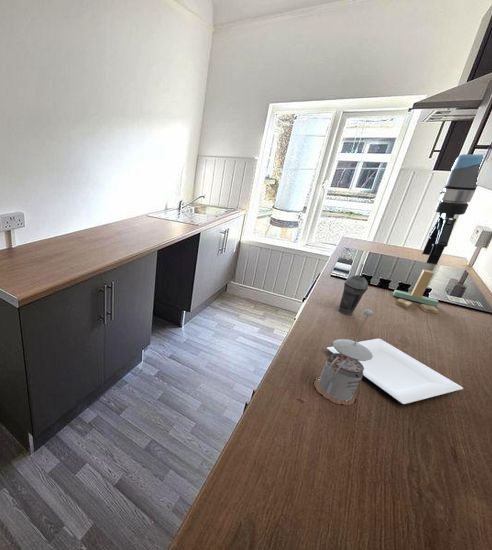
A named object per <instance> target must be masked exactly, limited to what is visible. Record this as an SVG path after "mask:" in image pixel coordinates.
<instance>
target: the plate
mask: <svg viewBox="0 0 492 550" xmlns="http://www.w3.org/2000/svg"><path fill="white" fill-rule="evenodd" d="M357 342H358V343H359V344H361V345H363V346H364V347H366V348H367V349H368V350H369V351H370V352H371V353H372V355H373V357H372V359H371V360H367V361H359V362H360V363H361V364H362V365H363V367H364V370H363V376H362V377H364V378H365V379H367V380H368V381H370V382H371V383H372V384H374V385H375V386H376V387H378V388H379V389H380V390H382V391H383V392H385V394H387V395H388V396H389V397H392V399H394V400H395V401H397V402H398V403H399V404H402V405H406V404H407V405H408V404H411V403H414V402H418V401H422V400H425V399H429V398H433V397H437V396H440V395H445V394H449V393H452V392H455V391H460V390H464V387H463V386H461V385H459V384H458V383H456V382H455V381H453V380H451V379H449V378H448V377H446V376H444V375H442V373H439V372H437V371H436V370H434V369H432V368H431V367H429V366H428V365H425V363H422V362H420V361H419V360H417V359H415V358H414V357H412V356H410V355H409V354H407V353H405V352H403V351H402V350H400V349H398V348H397V347H395V346H394V345H392V344H391V343H388V342H386V341H385V340H383V339H382V338H373V339H368V340H361V341H357ZM326 349H327V351H328V352H330V353H331V354H334V353H339V352H338V351H337V350H336V349H335V348H334V346H328V347H326Z"/></svg>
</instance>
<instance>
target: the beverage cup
mask: <svg viewBox="0 0 492 550" xmlns="http://www.w3.org/2000/svg"><path fill="white" fill-rule="evenodd" d="M363 267H364V263H361V265H360V268H359V272H358V274H354V275H352V276H351V275H350V276H349V277H347V279H346V280H345V282H344V283H343V291H342V296H341V299H340V303H339V307H338V311H339V313H341V314H343V315H347V316H351V315H353V313H354V312H355V311H356V308H357V306H358V304H359V303H360V301H361V299H362V297H363V295H364V294H366V292H367V290H368V288H369V283H368V280H367V279H366V278H365V277H364V276H362V275H361V274H362V270H363Z"/></svg>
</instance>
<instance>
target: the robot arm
mask: <svg viewBox="0 0 492 550" xmlns="http://www.w3.org/2000/svg"><path fill="white" fill-rule="evenodd" d="M483 155H484V154H470V153H469V154H468V153H467V154H466V153H465V154H460V155H458V156H457V157H456V159H455V161H454V163H453V165H452V167H451V168H450V172H449V175H448V177H447V180H446V182H445V185H444V188H443V190H441V191H439V194H441V195H440V197H439V200H440V201H437V204H436V206H435V209H434V212H436V213H439V214H438V216H437V217H436V220H435V222H434V224H433V226H432V227H431V229H430V231H429V233H428V238H427V240H426V242H425V243H426V244H425V246H424V248H423V250H422V253H421V255H427V256H428V257H427V260H426V262H425V263H426V264H430V265H435V266H436V265H438V263H439V262H440V261H439V260H440V258H441V256H442V255H443V252H444V250H445V248H447V247H448V245H449V241H450V238H451V236H452V231H453V228H454V225H455V223H456V221H457V218H455V216H456V215H457V216H459V215H461V216H462V215H465V214H466V211H467V209H468V207H469V203H470V202H471V201H472V200H473V196H474V194H475V192H476V190H477V187H478V185H476V182H477V177H478V171H479V167H480V164H481V162H482V159H483Z"/></svg>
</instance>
